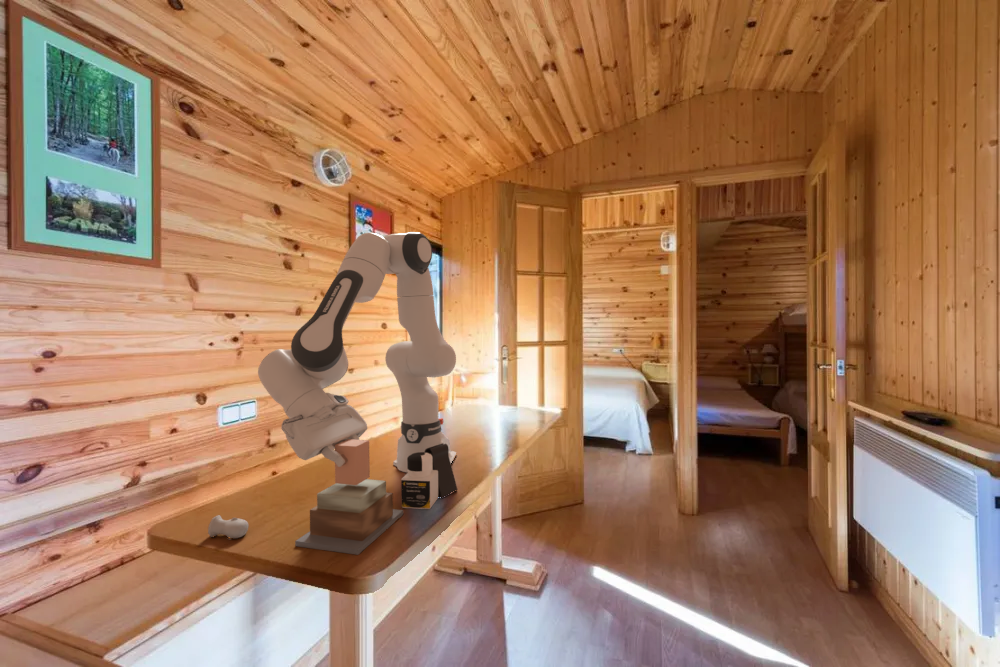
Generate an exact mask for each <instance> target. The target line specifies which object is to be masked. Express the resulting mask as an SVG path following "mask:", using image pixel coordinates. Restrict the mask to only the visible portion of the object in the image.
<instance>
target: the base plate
mask: <svg viewBox="0 0 1000 667" xmlns="http://www.w3.org/2000/svg"><path fill="white" fill-rule="evenodd" d="M403 515H404V510H403V509H396V508H393V516H391V517H390V518H389V519H388V520H387V521H386V522H384V523H383V524H382V525H381V526H380V527H379V528H377V529H376V530H375V531H374V532H373V533H371V534H370V535H369V536H368V537H367V538H366V539H364V540H363V541H357V540H349V539H341V538H334V537H326V536H318V535H311V534H310V531H308V532H306V533H305V534H304V535H302V536H300V537H299V538H298V539H296V540H295V547H299V548H306V549H307V548H308V549H314V550H323V551H329V552H336V553H344V554H350V555H360V554H361V553H362V552H363V551H365V549H366V548H368V547H369V546H370V545H371V544H372V543H373V542H374V541H375V540H377V539H378V538H379V537H380V536H381V535H382V534H383V533H384V532H385V531H387V530H388V529H389V528H390V527H391V526H392V525H393V524H394V523H396V522H397V521H398V520H399V519H400V518H401V517H403ZM398 518H399V519H398ZM397 519H398V520H397ZM396 520H397V521H396ZM395 521H396V522H395ZM386 529H387V530H386Z"/></svg>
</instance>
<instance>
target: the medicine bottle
mask: <svg viewBox="0 0 1000 667" xmlns="http://www.w3.org/2000/svg"><path fill="white" fill-rule="evenodd" d="M407 470H408V472H406V474H404V476H403V477H401V480H400V481H401V482H400V484H401V485H400V488H401V489H400V490H401V496H400V497H401V508H402V509H417V510H418V509H419V510H431V508H432V507H433V506H434V504H435V503H436V501H437V500H438V499H439V498H438V471H437V470H433V465H432V455H431V454H429V453H426V452H418V453H413V454H411V455H409V456H408V458H407Z"/></svg>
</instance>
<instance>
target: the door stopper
mask: <svg viewBox="0 0 1000 667" xmlns="http://www.w3.org/2000/svg"><path fill="white" fill-rule="evenodd" d="M425 452H426V453H429V454H431V455H432V465H433V470H437V471H438V497H441V498H442V497H444V496H446V495H448V494H450V493H451V492H453V491H455V490H458V487H457V483H456V479H455V475H454V471H453V467H452V465H451V463H450V459H449V455H448V452H449V448H448V445H447V444H443V443H442V444H439V445H436V446H433V447H430V448H427V449H426V450H425ZM450 495H451V494H450ZM448 496H449V495H448ZM446 497H447V496H446ZM444 498H445V497H444ZM442 499H443V498H442Z"/></svg>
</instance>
